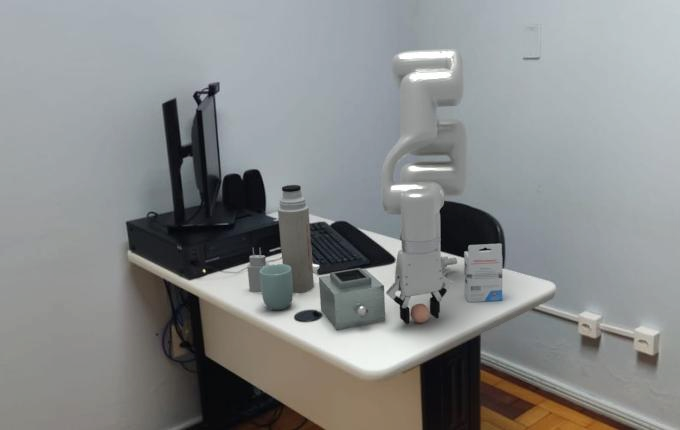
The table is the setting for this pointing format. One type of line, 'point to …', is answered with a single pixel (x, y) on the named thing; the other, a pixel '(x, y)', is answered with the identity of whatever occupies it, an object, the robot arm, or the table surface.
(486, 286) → the ink box
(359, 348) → the table surface
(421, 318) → the peach sphere
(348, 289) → the box
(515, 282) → the table surface
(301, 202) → the thermos bottle
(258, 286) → the power adapter
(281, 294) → the cup
